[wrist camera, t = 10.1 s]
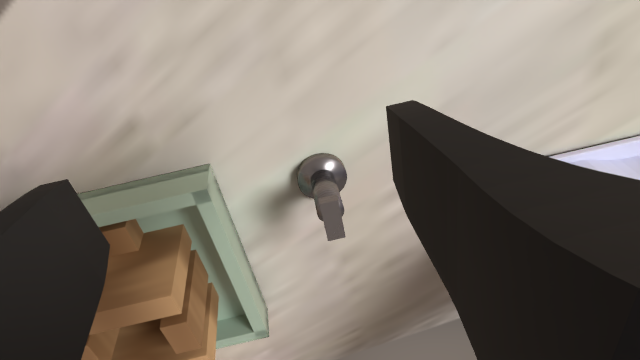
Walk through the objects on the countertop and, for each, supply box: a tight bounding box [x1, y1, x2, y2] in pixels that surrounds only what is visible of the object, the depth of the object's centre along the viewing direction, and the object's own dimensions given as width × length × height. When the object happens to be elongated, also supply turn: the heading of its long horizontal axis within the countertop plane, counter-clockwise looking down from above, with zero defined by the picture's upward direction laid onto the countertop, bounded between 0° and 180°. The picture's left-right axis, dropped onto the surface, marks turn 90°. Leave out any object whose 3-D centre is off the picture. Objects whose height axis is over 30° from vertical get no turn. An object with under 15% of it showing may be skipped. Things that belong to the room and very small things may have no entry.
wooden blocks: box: [81, 219, 219, 360], centre depth 21 cm, size 6×7×4 cm
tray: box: [77, 164, 269, 349], centre depth 23 cm, size 10×11×2 cm
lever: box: [297, 153, 347, 241], centre depth 20 cm, size 2×2×3 cm
